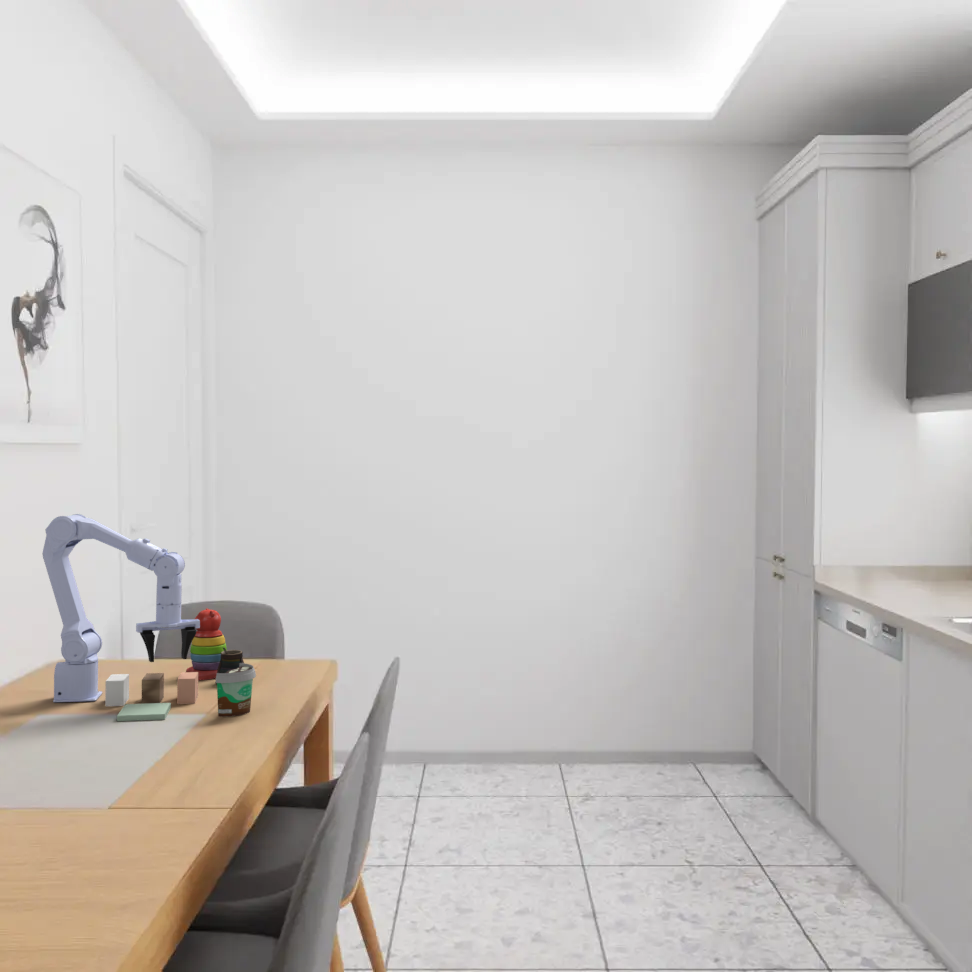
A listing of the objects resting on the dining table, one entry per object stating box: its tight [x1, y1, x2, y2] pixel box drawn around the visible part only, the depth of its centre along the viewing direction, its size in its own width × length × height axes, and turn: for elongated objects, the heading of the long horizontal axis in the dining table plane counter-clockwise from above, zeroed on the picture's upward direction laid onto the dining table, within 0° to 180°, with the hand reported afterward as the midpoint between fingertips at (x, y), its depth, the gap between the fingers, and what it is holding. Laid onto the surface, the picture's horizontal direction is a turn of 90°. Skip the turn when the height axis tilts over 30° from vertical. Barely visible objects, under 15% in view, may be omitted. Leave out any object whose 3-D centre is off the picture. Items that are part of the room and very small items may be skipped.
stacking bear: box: [185, 607, 228, 682], centre depth 248 cm, size 11×10×18 cm
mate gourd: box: [217, 648, 245, 673], centre depth 241 cm, size 7×8×10 cm
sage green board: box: [116, 702, 172, 722], centre depth 209 cm, size 10×10×1 cm
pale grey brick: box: [104, 673, 130, 707], centre depth 219 cm, size 4×7×6 cm, turn 12°
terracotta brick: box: [176, 671, 199, 705], centre depth 223 cm, size 4×7×6 cm, turn 11°
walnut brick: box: [141, 672, 165, 704], centre depth 221 cm, size 4×7×6 cm, turn 12°
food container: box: [215, 662, 257, 718], centre depth 212 cm, size 12×6×10 cm, turn 168°
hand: (167, 659), depth 223 cm, fingers open, 7 cm apart
